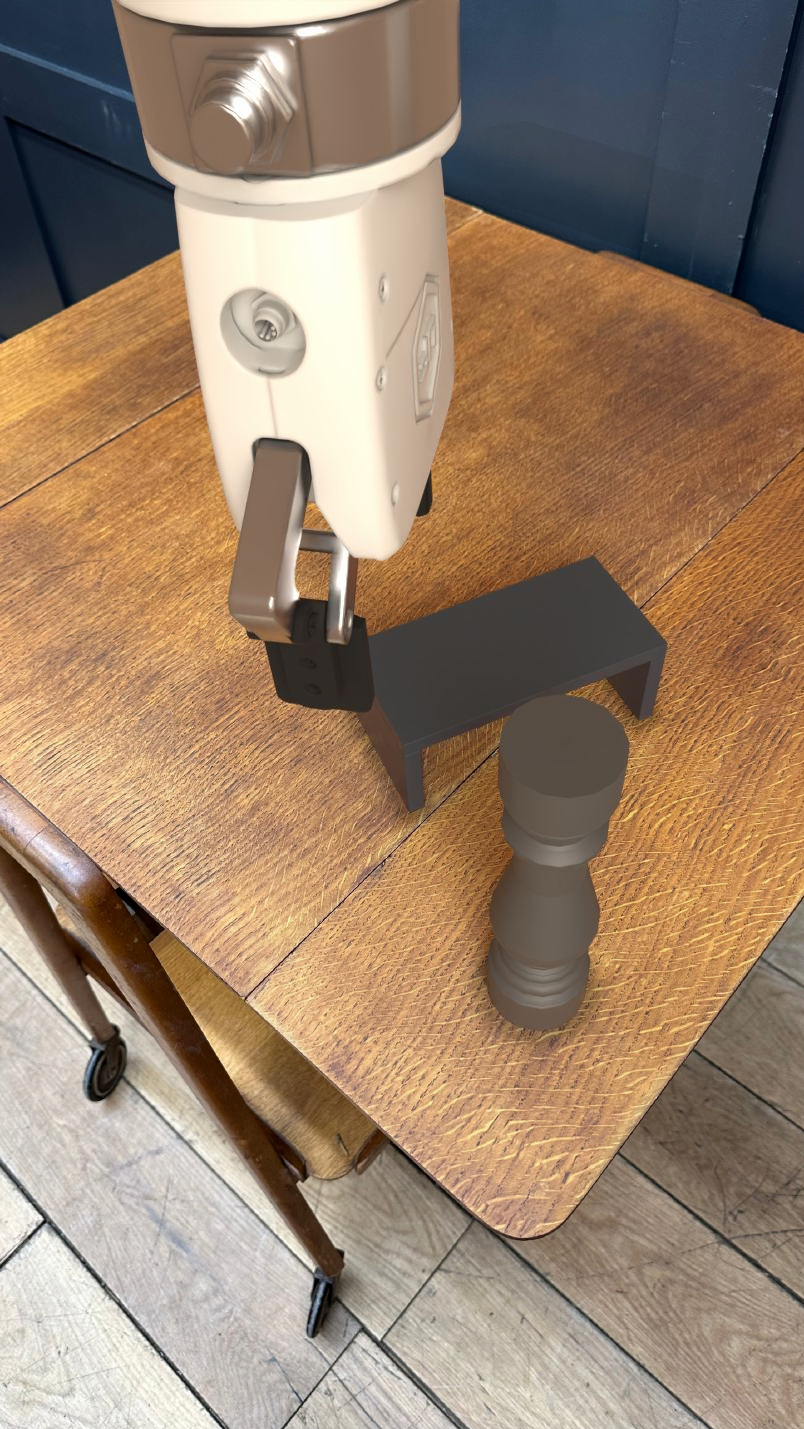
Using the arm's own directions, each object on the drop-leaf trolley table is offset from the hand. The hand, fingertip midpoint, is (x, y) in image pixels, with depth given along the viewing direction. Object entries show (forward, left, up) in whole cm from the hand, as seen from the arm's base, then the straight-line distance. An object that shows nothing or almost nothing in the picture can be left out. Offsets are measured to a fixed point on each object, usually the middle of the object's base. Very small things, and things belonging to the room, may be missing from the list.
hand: (361, 597), depth 37 cm
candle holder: (-8, +2, -35) cm, 36 cm away
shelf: (-16, -18, -35) cm, 42 cm away
